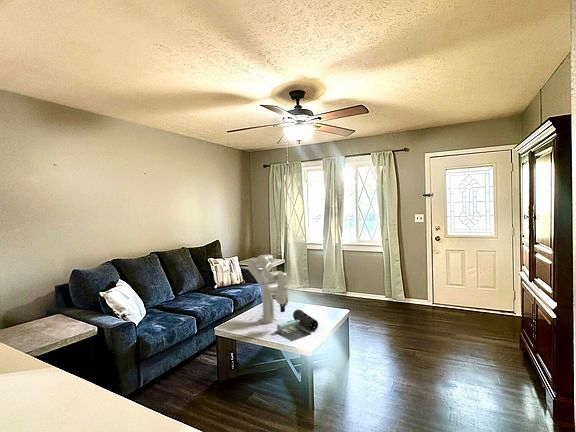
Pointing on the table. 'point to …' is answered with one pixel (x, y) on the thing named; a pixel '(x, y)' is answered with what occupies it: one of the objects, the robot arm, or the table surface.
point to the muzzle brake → (305, 320)
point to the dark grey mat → (293, 333)
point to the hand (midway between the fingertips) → (282, 311)
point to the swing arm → (287, 325)
